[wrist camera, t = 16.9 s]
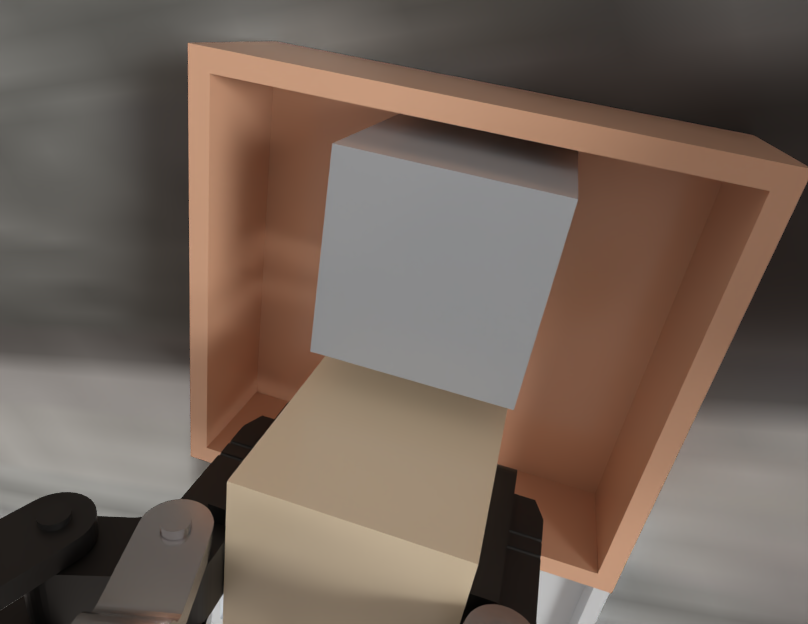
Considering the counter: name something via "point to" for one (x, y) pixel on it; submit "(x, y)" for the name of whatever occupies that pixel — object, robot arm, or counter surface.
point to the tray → (541, 602)
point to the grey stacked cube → (441, 253)
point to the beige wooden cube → (361, 504)
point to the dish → (569, 296)
